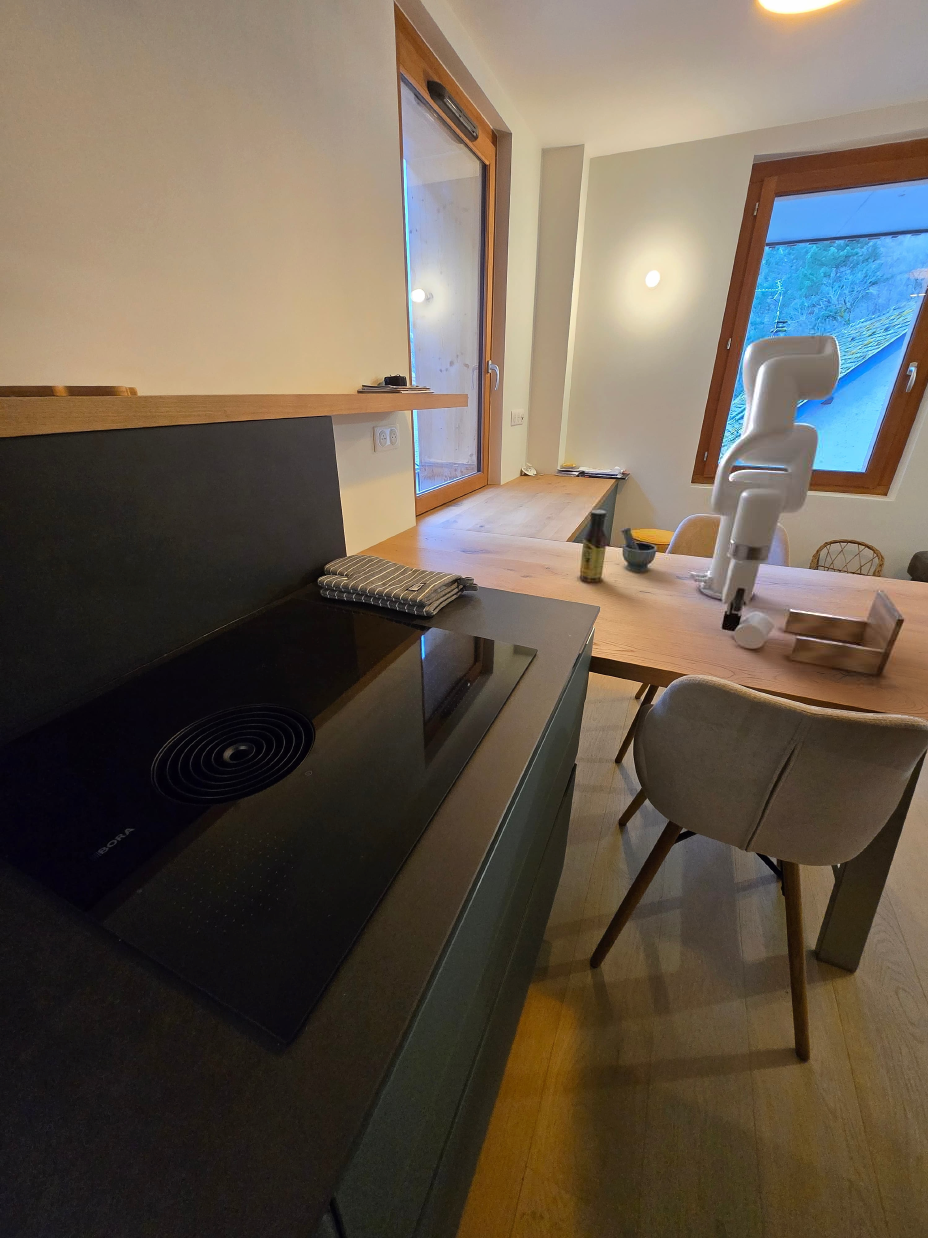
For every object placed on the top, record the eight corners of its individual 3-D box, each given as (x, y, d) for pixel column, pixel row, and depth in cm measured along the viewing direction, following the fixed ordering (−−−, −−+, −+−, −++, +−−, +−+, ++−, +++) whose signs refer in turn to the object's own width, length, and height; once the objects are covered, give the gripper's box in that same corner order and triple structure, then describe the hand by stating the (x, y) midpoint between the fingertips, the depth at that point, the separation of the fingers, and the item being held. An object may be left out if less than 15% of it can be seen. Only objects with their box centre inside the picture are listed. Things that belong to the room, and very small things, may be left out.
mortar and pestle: (658, 567, 150) (665, 529, 144) (646, 576, 143) (652, 536, 138) (624, 560, 156) (628, 523, 151) (610, 568, 150) (615, 529, 145)
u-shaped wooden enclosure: (789, 659, 100) (806, 605, 95) (783, 629, 112) (798, 579, 107) (881, 676, 94) (904, 619, 89) (863, 642, 106) (883, 590, 101)
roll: (774, 632, 111) (781, 609, 108) (761, 652, 103) (768, 628, 100) (745, 624, 114) (751, 602, 112) (730, 643, 106) (736, 620, 104)
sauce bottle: (576, 575, 144) (582, 508, 136) (597, 575, 145) (604, 507, 136) (583, 584, 139) (590, 514, 130) (605, 583, 139) (613, 513, 130)
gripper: (729, 538, 109) (712, 613, 117) (728, 558, 97) (709, 640, 105) (767, 542, 106) (747, 619, 114) (771, 563, 94) (748, 647, 102)
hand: (729, 629), depth 110 cm, fingers closed
